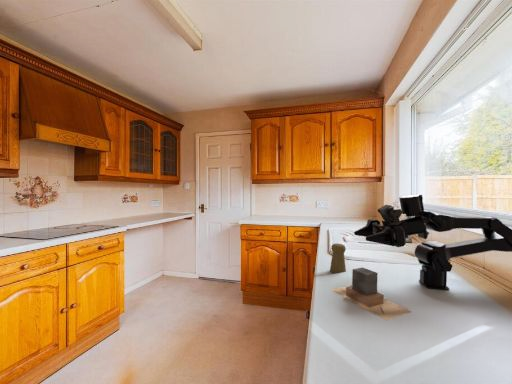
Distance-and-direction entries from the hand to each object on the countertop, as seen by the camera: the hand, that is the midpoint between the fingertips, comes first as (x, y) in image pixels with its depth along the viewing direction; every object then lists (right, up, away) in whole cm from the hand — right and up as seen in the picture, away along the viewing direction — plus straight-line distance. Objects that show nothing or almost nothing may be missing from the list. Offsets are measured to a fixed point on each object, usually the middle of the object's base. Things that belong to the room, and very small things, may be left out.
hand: (359, 236), depth 84 cm
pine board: (-3, -17, -13) cm, 22 cm away
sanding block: (-5, -16, -14) cm, 21 cm away
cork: (-3, -16, +12) cm, 21 cm away
